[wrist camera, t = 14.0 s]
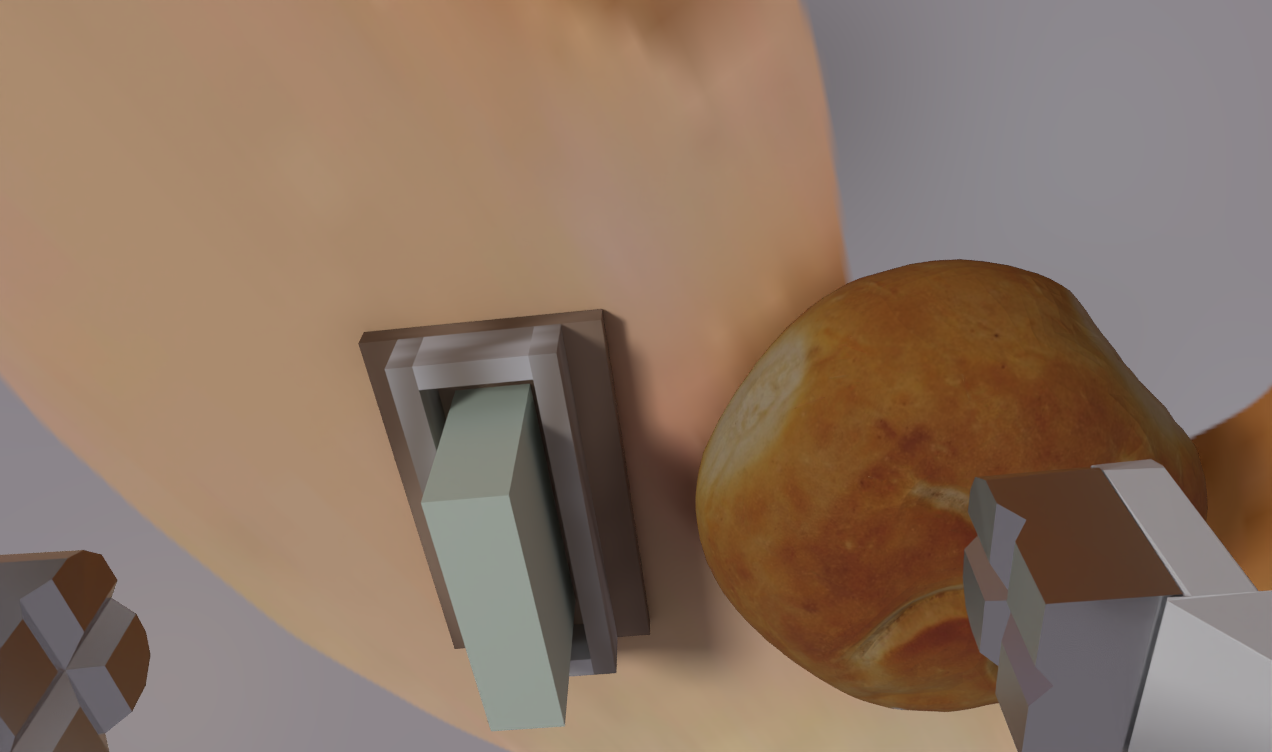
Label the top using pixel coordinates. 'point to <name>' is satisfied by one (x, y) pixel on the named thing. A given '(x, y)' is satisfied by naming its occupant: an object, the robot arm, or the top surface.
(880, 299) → the bread
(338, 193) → the top surface
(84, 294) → the top surface
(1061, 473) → the robot arm
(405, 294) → the top surface
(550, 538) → the pale green rectangular block
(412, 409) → the grey rectangular tray
